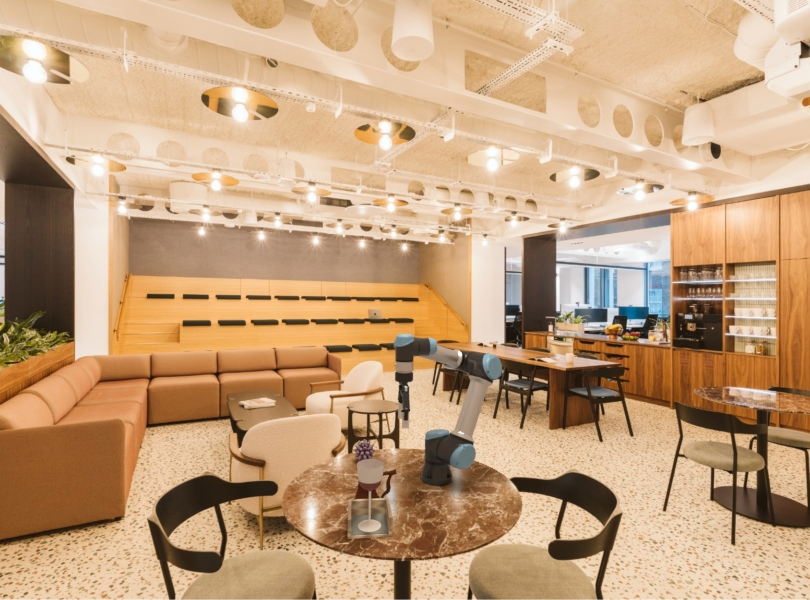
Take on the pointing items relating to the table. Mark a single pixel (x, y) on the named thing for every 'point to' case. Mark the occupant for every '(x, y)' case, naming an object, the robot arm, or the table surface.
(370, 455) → the flower
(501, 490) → the table surface
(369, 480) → the wineglass
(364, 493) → the brown pitcher
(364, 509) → the square tray
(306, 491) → the table surface
